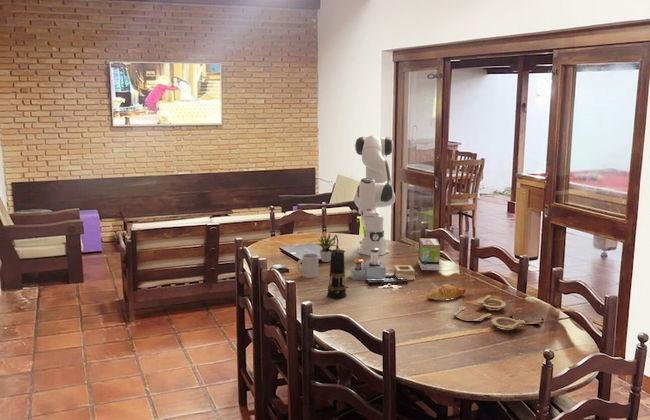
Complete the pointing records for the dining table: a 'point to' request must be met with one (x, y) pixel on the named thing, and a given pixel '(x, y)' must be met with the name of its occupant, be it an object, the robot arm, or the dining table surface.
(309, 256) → the mug
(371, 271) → the socket block
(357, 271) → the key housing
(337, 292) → the lantern
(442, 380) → the dining table surface
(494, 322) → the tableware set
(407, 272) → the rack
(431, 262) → the tea box
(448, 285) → the croissant
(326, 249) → the house plant
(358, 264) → the orange rounded piece
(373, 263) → the banded metal cylinder
